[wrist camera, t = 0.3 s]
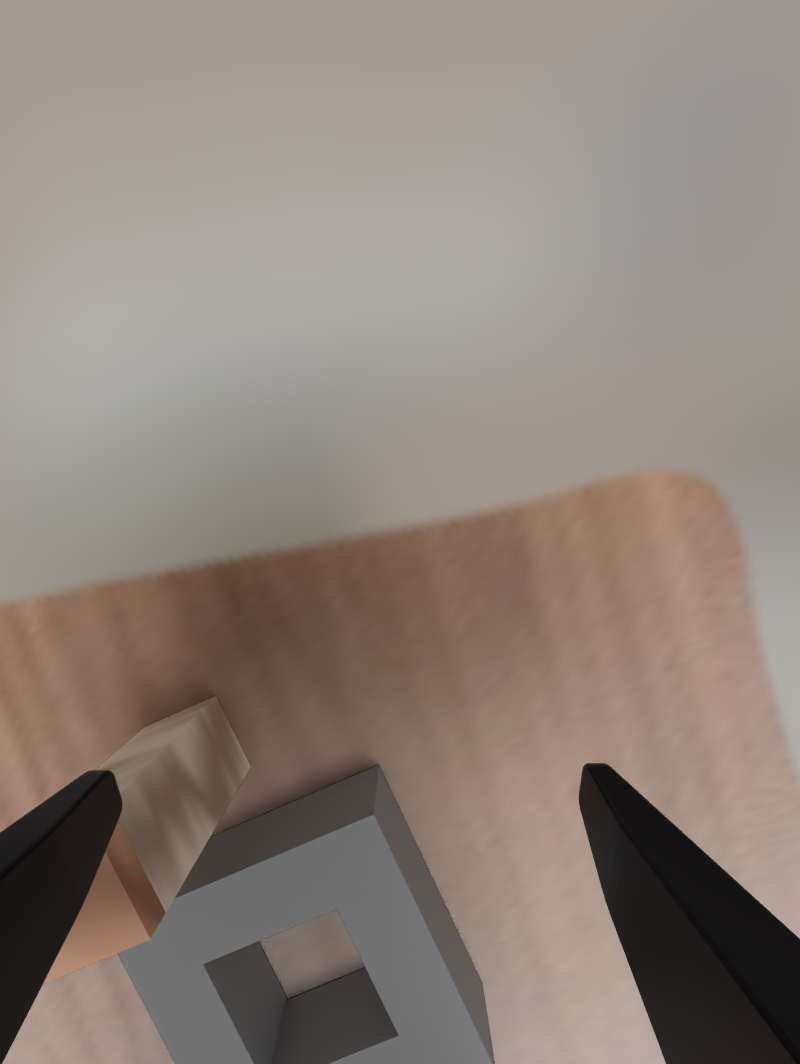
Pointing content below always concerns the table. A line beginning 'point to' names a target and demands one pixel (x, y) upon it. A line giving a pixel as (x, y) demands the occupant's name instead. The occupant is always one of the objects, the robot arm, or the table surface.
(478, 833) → the table surface
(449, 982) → the socket block
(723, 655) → the table surface
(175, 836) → the peg
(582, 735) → the table surface
